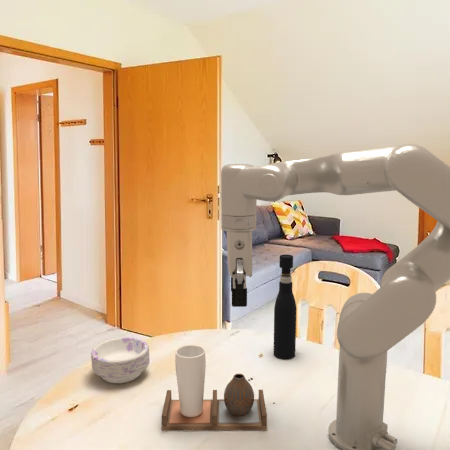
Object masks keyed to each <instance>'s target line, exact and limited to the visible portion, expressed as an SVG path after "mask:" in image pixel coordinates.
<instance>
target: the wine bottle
mask: <svg viewBox="0 0 450 450" xmlns="http://www.w3.org/2000/svg"><path fill="white" fill-rule="evenodd" d="M278 264H279V268H281V273H280V277H279V278H280V280H279V282H278V283H279V284H278V287H279V288H278V293H277V295H276V300H275V302H274V308H273V309H274V310H273V312H274V313H273V356H274V357H275V358H277V359H279V360H280V359H281V360H292V359H294V358H295V356H296V343H297V341H296V340H297V339H296V337H297V336H296V335H297V334H296V333H297V303H296V298H295V295H294V293H293V280H292V279H293V278H292V275H291V274H292V273H291V269H293V268H294V255H291V254H280V255H279V263H278Z"/></svg>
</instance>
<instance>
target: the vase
mask: <svg viewBox="0 0 450 450" xmlns="http://www.w3.org/2000/svg"><path fill="white" fill-rule="evenodd" d="M223 399H224V403H225V406H226V408H227V410H228V411H229V412H230V413H231V414H233V415H236V416H243V415H245V414H247V413H248V412H249V411H250V410H251V408H252V406H253V403H254V399H255V392H254V390H253V386H252V385H251V383H250V382H249V381H248V380H247V379H246V376H245V375H244V374H243V373H235V374H234V375H233V377H232V379H231V380H230V381H229V382H228V383H227V384H226V386H225V388H224V393H223Z"/></svg>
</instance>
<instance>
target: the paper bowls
mask: <svg viewBox="0 0 450 450" xmlns="http://www.w3.org/2000/svg"><path fill="white" fill-rule="evenodd" d="M149 346H150V345H149V344H148V343H147V342H146V341H145V340H143V339H141V338H137V337H129V336H128V337H117V338H111V339H108V340H104V341H102V342H100V343H98V344H97V345H96V346H94V347H93V348H92V350H91V352H90V360H91V370H92V372H93V373H94V374H95V375H97V376H99V377H101V378H102V379H103V380H104V381H105V382H107V383H110V384H124V383H129V382H132V381H134V380H136V379H137V378H139V377H140V375H141V374H142V373H143V371H145V370H146V369H147V368H148V366H149V365H150V347H149Z"/></svg>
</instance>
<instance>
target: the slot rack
mask: <svg viewBox="0 0 450 450" xmlns="http://www.w3.org/2000/svg"><path fill="white" fill-rule="evenodd" d="M165 393H166V395H165V399H164V404H163V408H162V412H161V431H175V432H176V431H267V430H268V425H267V423H268V414H267V408H266V403H265V402H266V401H265V397H264V396H265V395H264V389H258V398H256V399H255V398H254V403H253V406H252V408H251V410H250V411H249V412H248V413H247V414H245V415H243V416H236V415H233V414H231V413H230V412H229V411H228V410H227V408H226V406H225V403H224V398H223V399H222V398H221V399H218V390H217V389H213V390H212V399H203V412H202V413H201V414H200V415H199V416H196V417H185V416H183V415H182V414H181V412H180V402H179V399H173V398H172V390H171V389H168V390H166V392H165Z"/></svg>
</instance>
